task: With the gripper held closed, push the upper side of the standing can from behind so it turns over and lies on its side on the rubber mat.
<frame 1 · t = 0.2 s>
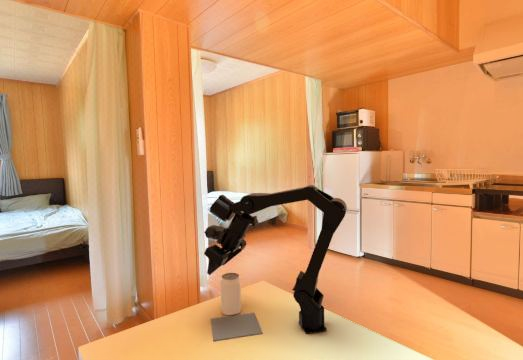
hand: (215, 269, 100), 15 cm above the table, tool tilted 30°, fingers open, 9 cm apart
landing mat: (235, 326, 93), on the table
can: (231, 311, 102), on the table
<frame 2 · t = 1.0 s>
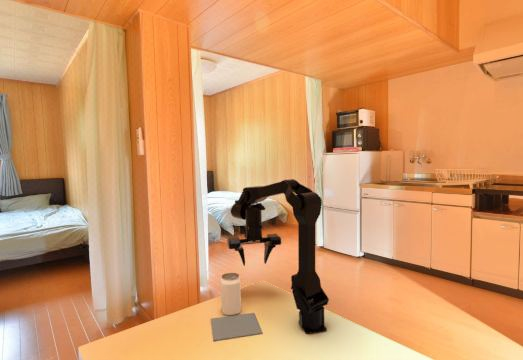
hand: (254, 264, 111), 12 cm above the table, tool pointing down, fingers open, 7 cm apart
nothing on the table moved.
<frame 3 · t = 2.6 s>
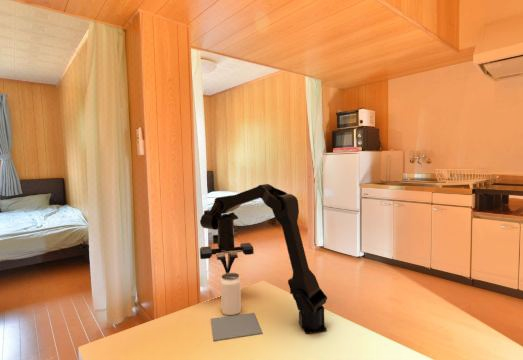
hand: (227, 274, 111), 9 cm above the table, tool pointing down, fingers closed
nothing on the table moved.
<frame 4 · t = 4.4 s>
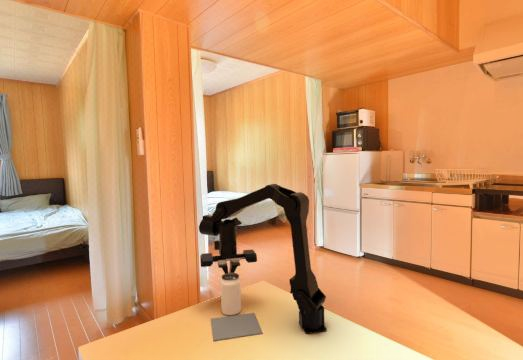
hand: (229, 282, 105), 8 cm above the table, tool pointing down, fingers closed
can: (231, 311, 102), on the table, touching gripper
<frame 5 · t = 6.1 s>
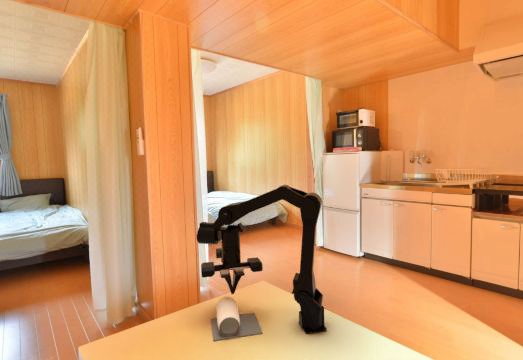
hand: (232, 293, 97), 8 cm above the table, tool pointing down, fingers closed
can: (226, 305, 99), point 4 cm above the table, touching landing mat
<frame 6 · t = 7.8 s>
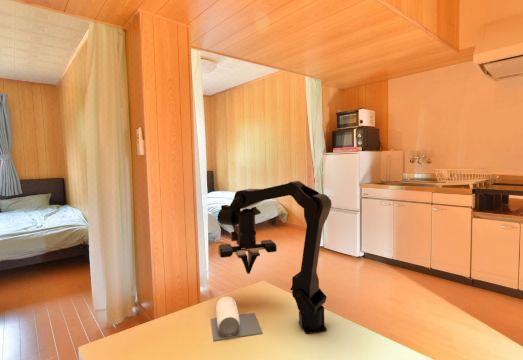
hand: (248, 273, 103), 12 cm above the table, tool pointing down, fingers closed
nothing on the table moved.
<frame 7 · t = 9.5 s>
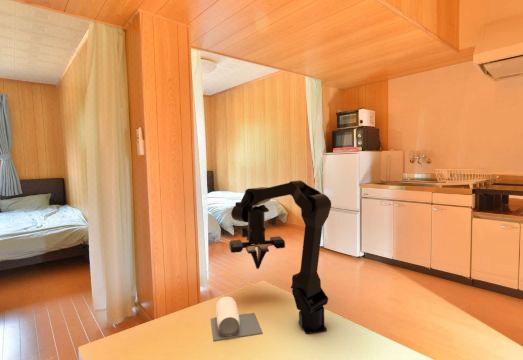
hand: (257, 268, 107), 12 cm above the table, tool pointing down, fingers closed
nothing on the table moved.
at the end: can tilted 92°; can inside the target area (3.4 cm from its centre), point 3.6 cm above the table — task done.
